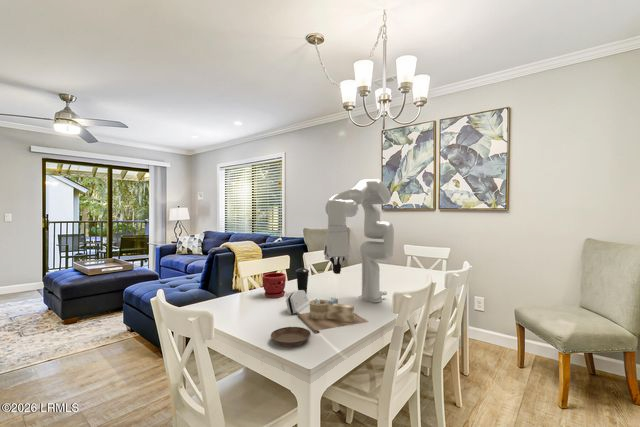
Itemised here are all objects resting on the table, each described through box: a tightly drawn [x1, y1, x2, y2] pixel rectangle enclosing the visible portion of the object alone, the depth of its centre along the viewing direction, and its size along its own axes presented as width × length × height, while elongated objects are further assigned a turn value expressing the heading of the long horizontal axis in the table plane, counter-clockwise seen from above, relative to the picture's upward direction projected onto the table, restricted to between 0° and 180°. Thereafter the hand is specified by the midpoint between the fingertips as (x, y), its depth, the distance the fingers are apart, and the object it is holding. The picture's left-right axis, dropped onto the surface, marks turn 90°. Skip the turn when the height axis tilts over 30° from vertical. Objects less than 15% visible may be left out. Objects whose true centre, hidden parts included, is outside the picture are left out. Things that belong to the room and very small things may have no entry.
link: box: [309, 298, 355, 322], centre depth 136 cm, size 20×9×6 cm, turn 65°
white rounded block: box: [285, 289, 310, 315], centre depth 151 cm, size 17×5×10 cm, turn 159°
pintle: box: [314, 298, 320, 304], centre depth 140 cm, size 2×2×8 cm
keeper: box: [328, 297, 339, 304], centre depth 138 cm, size 5×5×8 cm
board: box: [297, 312, 369, 334], centre depth 136 cm, size 24×21×1 cm
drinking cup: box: [295, 259, 310, 295], centre depth 178 cm, size 8×8×20 cm
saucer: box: [270, 326, 312, 348], centre depth 115 cm, size 15×15×3 cm
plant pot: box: [261, 272, 287, 299], centre depth 175 cm, size 13×13×12 cm
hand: (336, 273), depth 129 cm, fingers closed
